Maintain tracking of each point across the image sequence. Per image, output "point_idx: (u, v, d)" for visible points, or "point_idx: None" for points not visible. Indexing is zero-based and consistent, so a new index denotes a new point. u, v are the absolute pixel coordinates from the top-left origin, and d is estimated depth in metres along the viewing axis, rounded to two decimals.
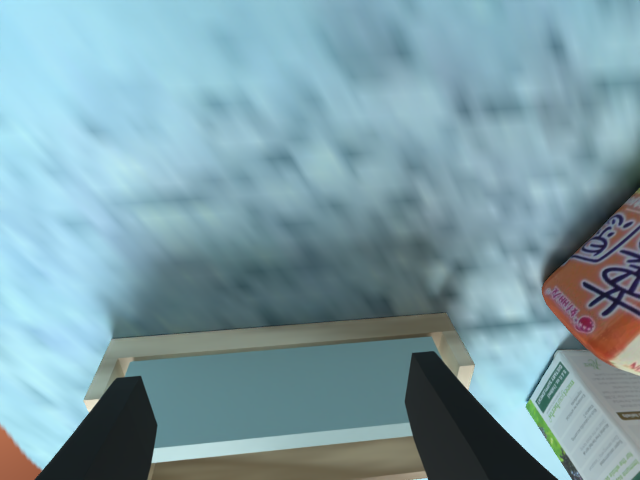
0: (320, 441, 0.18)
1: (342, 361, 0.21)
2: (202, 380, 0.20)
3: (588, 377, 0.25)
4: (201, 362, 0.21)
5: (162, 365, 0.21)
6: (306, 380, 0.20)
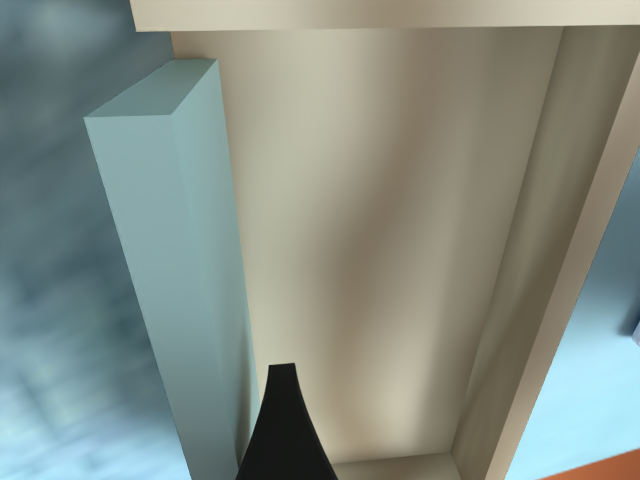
0: (218, 450, 0.08)
1: None
2: None
3: None
4: None
5: None
6: None
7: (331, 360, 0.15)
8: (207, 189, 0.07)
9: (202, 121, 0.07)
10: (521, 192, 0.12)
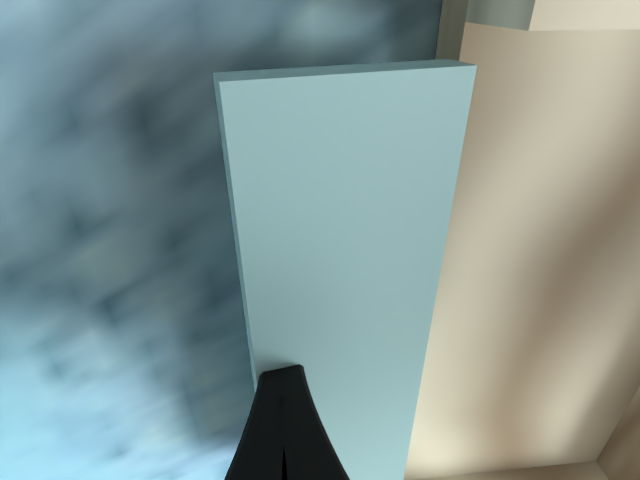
0: (252, 357, 0.10)
1: None
2: None
3: None
4: None
5: None
6: None
7: (511, 368, 0.14)
8: (307, 165, 0.08)
9: (332, 109, 0.08)
10: None
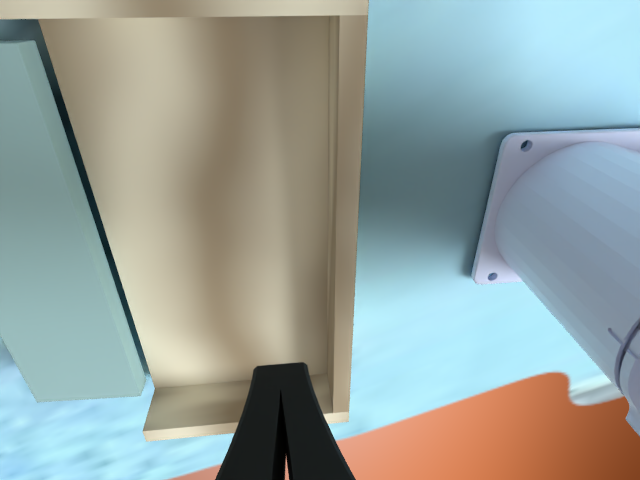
0: None
1: None
2: None
3: None
4: None
5: None
6: None
7: (207, 285, 0.19)
8: None
9: None
10: (328, 144, 0.16)
